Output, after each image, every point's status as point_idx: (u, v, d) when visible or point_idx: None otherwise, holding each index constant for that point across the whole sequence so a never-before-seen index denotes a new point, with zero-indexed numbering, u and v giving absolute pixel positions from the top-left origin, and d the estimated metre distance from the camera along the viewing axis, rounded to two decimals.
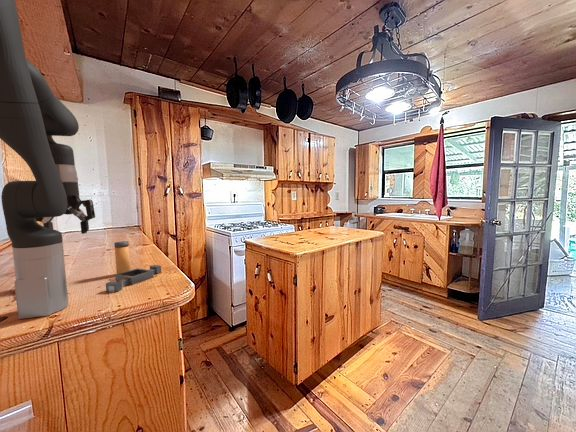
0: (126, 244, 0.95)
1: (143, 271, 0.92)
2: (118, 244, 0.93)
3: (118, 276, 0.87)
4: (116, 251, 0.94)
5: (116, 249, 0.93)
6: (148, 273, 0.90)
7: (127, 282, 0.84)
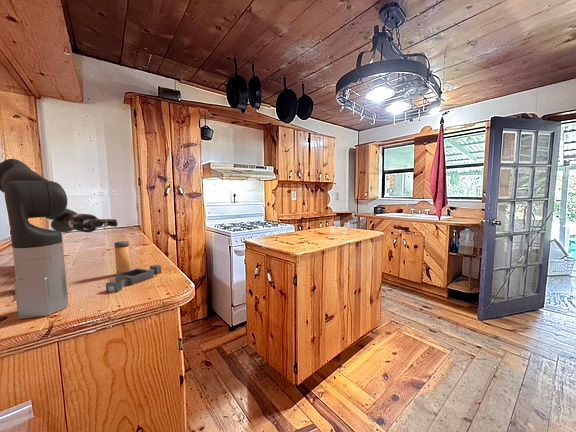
0: (126, 244, 0.95)
1: (143, 271, 0.92)
2: (118, 244, 0.93)
3: (118, 276, 0.87)
4: (116, 251, 0.94)
5: (116, 249, 0.93)
6: (148, 273, 0.90)
7: (127, 282, 0.84)
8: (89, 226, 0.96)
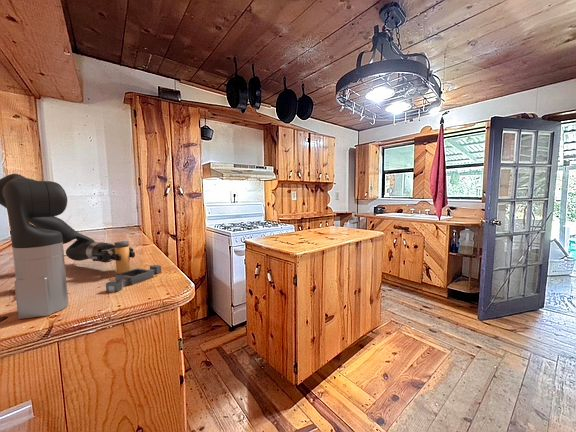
0: (126, 244, 0.95)
1: (143, 271, 0.92)
2: (118, 244, 0.93)
3: (118, 276, 0.87)
4: (116, 251, 0.94)
5: (116, 249, 0.93)
6: (148, 273, 0.90)
7: (127, 282, 0.84)
8: (117, 257, 0.92)
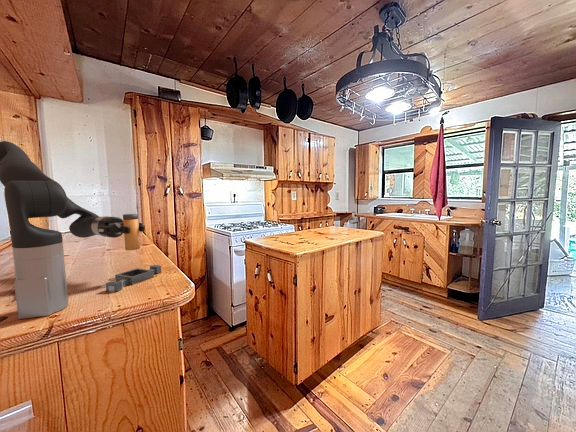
0: (136, 216, 0.87)
1: (143, 271, 0.92)
2: (127, 216, 0.85)
3: (118, 276, 0.87)
4: (125, 223, 0.86)
5: (125, 221, 0.86)
6: (148, 273, 0.90)
7: (127, 282, 0.84)
8: (126, 230, 0.84)
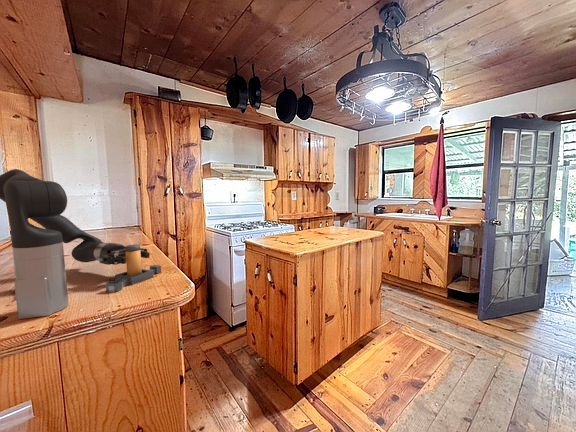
0: (138, 248, 0.88)
1: (143, 271, 0.92)
2: (129, 248, 0.86)
3: (118, 276, 0.87)
4: (127, 255, 0.87)
5: (127, 253, 0.87)
6: (148, 273, 0.90)
7: (127, 282, 0.84)
8: (122, 260, 0.84)
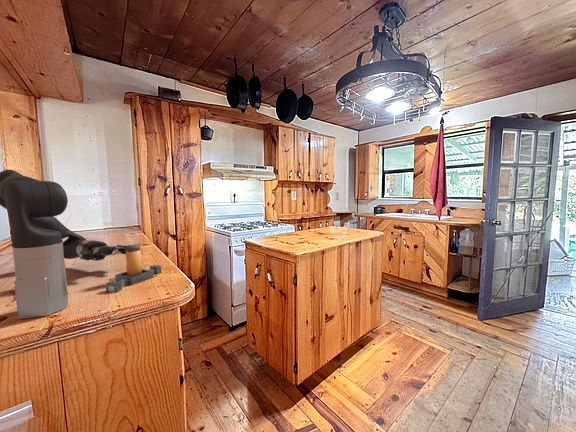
0: (138, 248, 0.88)
1: (143, 271, 0.92)
2: (130, 248, 0.86)
3: (118, 276, 0.87)
4: (127, 255, 0.87)
5: (127, 253, 0.87)
6: (148, 273, 0.90)
7: (127, 282, 0.84)
8: (100, 256, 0.90)
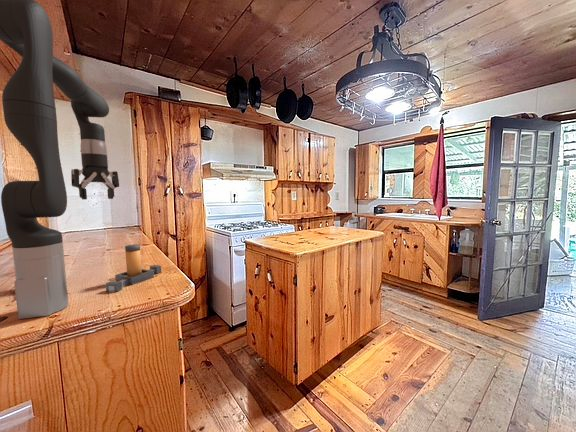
0: (138, 248, 0.88)
1: (143, 271, 0.92)
2: (129, 248, 0.86)
3: (118, 276, 0.87)
4: (127, 255, 0.87)
5: (127, 253, 0.86)
6: (148, 273, 0.90)
7: (127, 282, 0.84)
8: (82, 198, 0.89)
